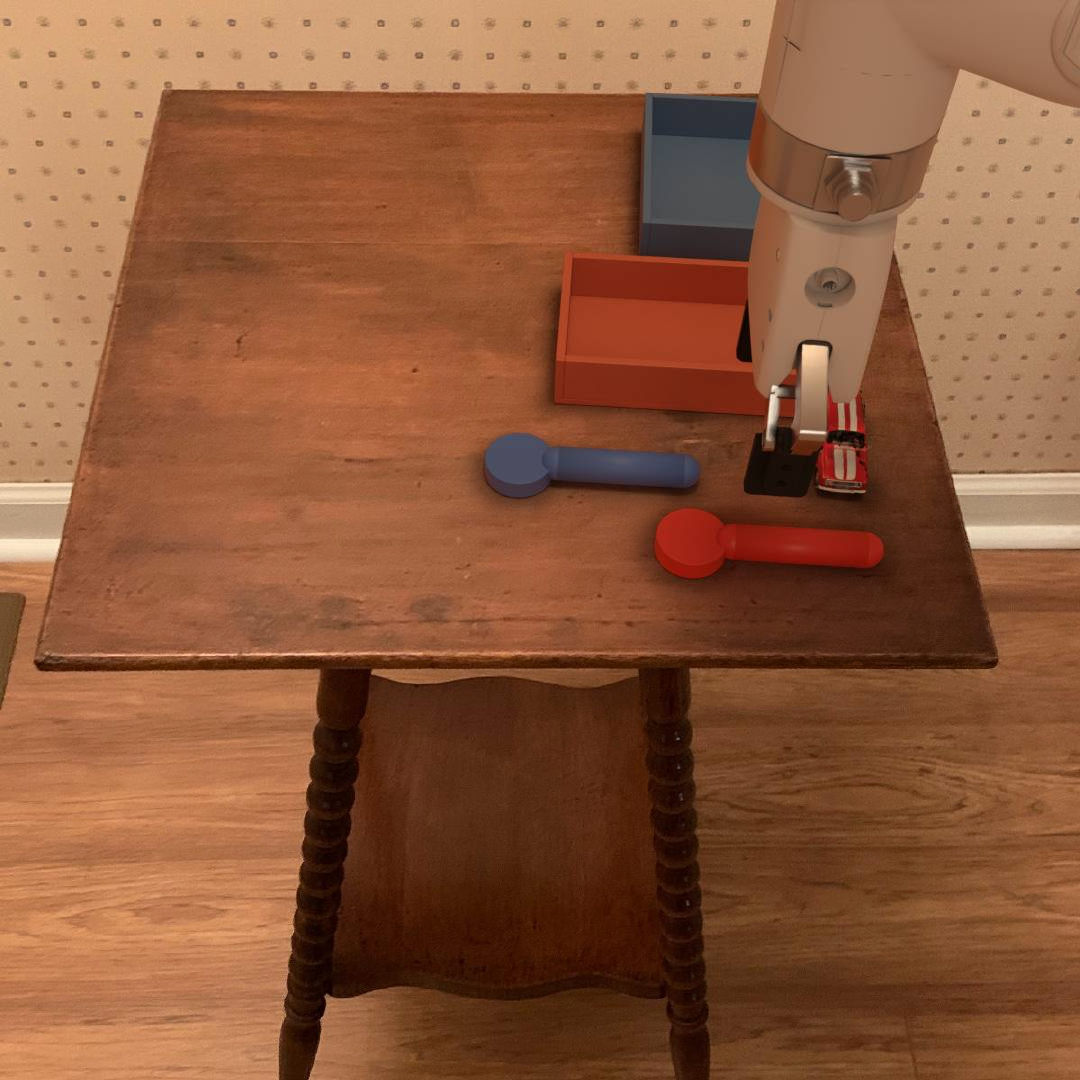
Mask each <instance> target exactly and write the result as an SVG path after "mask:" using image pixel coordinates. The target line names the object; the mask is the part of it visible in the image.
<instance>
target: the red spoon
mask: <svg viewBox="0 0 1080 1080" xmlns="http://www.w3.org/2000/svg"><path fill="white" fill-rule="evenodd" d="M655 532H656V533H655V539H654V554H655V557H656V559H657V561H658V563H659V564H660V565H661V566H662V567H663V568H664V569H665V570H667V571H668V572H669V573H671V574H672V575H675V576H678V577H681V578H685V579H702V578H706V577H709V576H711V575H713V574H714V573H716V572H717V571H718V570H719V569H721V567H722V566H723V564H724V562H725V559H727V560H733V561H744V562H745V561H747V562H763V563H777V564H778V563H780V564H793V565H810V566H827V567H839V568H841V567H843V568H857V569H870V568H873V567H875V566H876V565H878V564H879V563H880V562H881V560H882V559H883V557H884V553H885V547H884V543H883V541H882V539H881V538H880V537H879V536H878V535H877V534H875V533H872V532H870V531H859V530H858V531H857V530H844V529H843V530H842V529H827V528H811V527H794V526H780V525H779V526H778V525H765V524H763V525H762V524H747V523H746V524H745V523H728V524H724V523H723V522H722V521H721V520H720V519H719V518H718V517H717V516H716V515H714V514H712V513H710V512H708V511H706V510H702V509H698V508H680V509H677V510H674V511H672V512H670V513H668V514H667V515H665V516H664V517H663V518H662V519H661V520H660V521H659V523H658V525H657V528H656V531H655Z"/></svg>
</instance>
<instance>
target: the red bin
mask: <svg viewBox="0 0 1080 1080" xmlns="http://www.w3.org/2000/svg"><path fill="white" fill-rule="evenodd" d="M748 267H749V262H740V261H723V260H705V259H687V258H669V257H652V256H639V255H631V254H616V253H597V252H579V251H578V252H577V251H565V252H564V258H563V267H562V268H563V269H562V279H561V280H562V281H561V292H560V293H561V294H560V305H559V314H558V315H559V317H558V328H557V329H558V330H557V339H556V340H557V341H556V353H555V371H554V392H553V393H554V397H553V398H554V399H553V403H554V404H563V405H564V404H565V405H578V406H579V405H581V406H598V407H615V408H632V409H646V410H647V409H648V410H665V411H680V412H698V413H713V414H714V413H715V414H732V415H748V416H763V417H764V410H765V400H766V398H765V397H764V396H763V395H762V394H760V392H759V391H758V390H757V389H756V387H755V383H754V375H753V363H750V362H741V361H740V360H738V359H737V357H736V347H737V342H738V338H739V333H740V328H741V323H742V319H743V314H744V309H745V304H746V300H748ZM781 384H789V385H796V370H795V369H792V371H791V373H790V374H789V375H788V376H787V377H786V378H785V379H784V380H783V381H782V383H781ZM794 415H795V399H783V398H781V399H780V409H779V418H780V417H781V418H782V417H784V418H785V417H786V418H794Z"/></svg>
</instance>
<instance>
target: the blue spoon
mask: <svg viewBox="0 0 1080 1080" xmlns="http://www.w3.org/2000/svg"><path fill="white" fill-rule="evenodd" d="M484 476H485V479H486V481H487V483H488V484H489V486H490V487H491V488H492V489H493V490H494V491H496V492H497V493H499V494H501V495H502V496H505V497H509V498H516V499H519V498H520V499H522V498H529V497H533V496H535V495H538V494H539V493H541V492H543V491H544V490H545V489H546V488H547V487H548V486H549V485H550V483H551V482H552V481H557V482H558V481H560V482H577V483H591V484H606V485H607V484H608V485H609V484H610V485H625V486H641V487H656V488H658V487H659V488H673V489H688V488H691V487H692V486H694V485H695V484H696V483H697V482H698V480H699V478H700V476H701V466H700V463H699V461H698V460H697V458H695V457H694V456H692V455H691V454H689V453H680V452H679V453H678V452H665V451H664V452H663V451H662V452H661V451H647V450H646V451H645V450H630V449H612V448H598V447H597V448H596V447H581V446H566V445H565V446H563V445H555V446H552V447H550V446H549V444H548V443H546V441H545V440H543V439H542V438H540V437H538V436H536V435H533V434H529V433H523V432H514V433H508V434H505V435H502V436H499V437H498V438H496V439H494V441H492V442H491V443H490V444H489V446H488V447H487V449H486V451H485V454H484Z"/></svg>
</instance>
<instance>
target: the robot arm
mask: <svg viewBox="0 0 1080 1080" xmlns="http://www.w3.org/2000/svg"><path fill="white" fill-rule="evenodd" d="M762 69H763V70H762V76H761V81H760V88H759V91H758V94H757V95H758V96H757V98H758V101H757V106H756V111H755V117H754V122H753V127H752V133H751V138H750V143H749V149H748V154H747V160H746V168H747V173H748V175H749V178H750V180H751V182H752V183H753V184H754V186H755V187H756V189H757V190H758V191H759V192H760V193H761V198H760V203H759V207H758V212H757V217H756V222H755V227H754V232H753V238H752V244H751V250H750V257H749V267H748V300H746V304H745V309H744V314H743V319H742V323H741V328H740V333H739V338H738V342H737V347H736V357H737V359H738V360H740V361H741V362H750V363H753V375H754V383H755V387H756V389H757V390H758V391H759V392H760V394H762V395H763V396H764V397H765V398H766V400H765V410H764V416H763V422H762V432H755V434H754V438H753V441H752V445H751V449H750V453H749V458H748V462H747V466H746V469H745V475H744V478H743V491H744V493H745V494H747V495H753V496H768V497H778V498H779V497H782V498H784V497H785V498H803V497H805V496H807V495H808V491H809V488H810V485H811V482H812V479H813V476H814V472H815V470H816V463H817V460H818V457H819V455H820V454H821V451H822V450H823V447H824V446H823V444H824V442H825V440H826V435H827V409H828V393H829V391H830V394H831V397H832V401H833V403H844V404H848V403H850V402H851V401H852V400H853V399H854V398H855V397H856V396H857V394H858V392H860V388H861V384H862V382H863V381H862V380H863V378H864V373H865V371H866V366H867V363H868V359H869V356H870V351H871V348H872V344H873V341H874V337H875V333H876V330H877V326H878V321H879V318H880V315H881V310H882V306H883V301H884V297H885V293H886V288H887V285H888V280H889V275H890V272H891V271H890V270H891V267H892V266H891V265H892V259H893V256H894V255H893V253H894V248H895V241H896V234H897V226H898V216H899V215H901V214H902V213H904V212H906V210H908V209H909V208H910V207H912V205H913V204H914V203H915V202H916V200H917V199H918V197H919V194H920V192H921V188H922V186H923V183H924V178H925V176H926V174H927V173H926V172H927V169H928V166H929V164H930V160H931V158H932V155H933V151H934V148H935V145H936V142H937V139H938V136H939V133H940V131H941V127H942V125H943V122H944V119H945V117H946V114H947V110H948V106H949V104H950V101H951V99H952V98H951V97H952V94H953V92H954V88H955V85H956V83H957V79H958V77H959V73H960V70H963V71H965V72H968V73H970V74H973V75H976V76H978V77H981V78H984V79H986V80H990V81H993V82H995V83H998V84H1000V85H1002V86H1005V87H1008V88H1010V89H1013V90H1016V91H1019V92H1022V93H1024V94H1027V95H1029V96H1032V97H1035V98H1039V99H1041V100H1044V101H1048V102H1050V103H1055V104H1058V105H1062V106H1065V107H1066V106H1067V107H1071V108H1075V109H1080V0H775V5H774V12H773V16H772V22H771V28H770V33H769V39H768V43H767V49H766V54H765V60H764V64H763V68H762ZM792 369H795V370H796V385H789V384H781V383H782V381H783V380H784V379H785V378H786V377H787V376H788V375H789V374H790V373H791V371H792ZM781 398H783V399H795V415H794V417H793V420H792V422H791V424H790V426H779V418H780V416H779V409H780V399H781Z"/></svg>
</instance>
